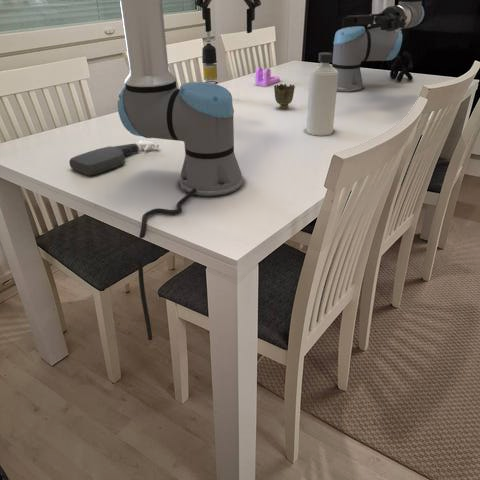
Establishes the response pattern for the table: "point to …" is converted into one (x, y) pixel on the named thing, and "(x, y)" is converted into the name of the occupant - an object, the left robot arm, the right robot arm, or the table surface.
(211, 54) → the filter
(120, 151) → the spray bottle
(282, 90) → the cup
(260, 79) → the bracket
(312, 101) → the bottle
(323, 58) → the cap
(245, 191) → the table surface
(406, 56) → the squiggle
